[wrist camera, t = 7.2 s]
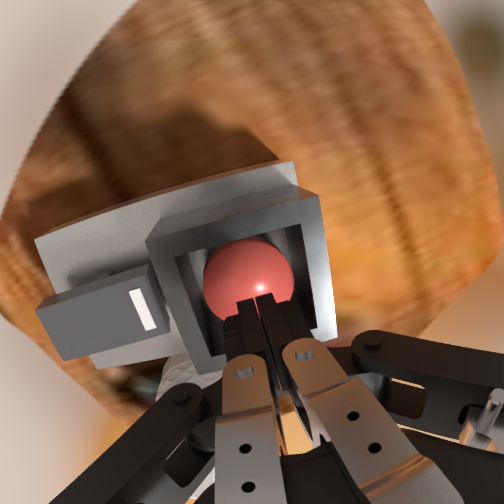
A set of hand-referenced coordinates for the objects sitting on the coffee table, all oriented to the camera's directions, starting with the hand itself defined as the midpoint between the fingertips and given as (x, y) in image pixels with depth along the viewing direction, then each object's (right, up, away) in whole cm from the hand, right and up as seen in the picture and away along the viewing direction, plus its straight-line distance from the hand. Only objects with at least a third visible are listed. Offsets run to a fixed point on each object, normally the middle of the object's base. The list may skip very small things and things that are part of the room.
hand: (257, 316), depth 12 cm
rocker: (-8, -1, +3) cm, 9 cm away
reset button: (-1, +1, +3) cm, 4 cm away
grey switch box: (-5, +2, +8) cm, 9 cm away
